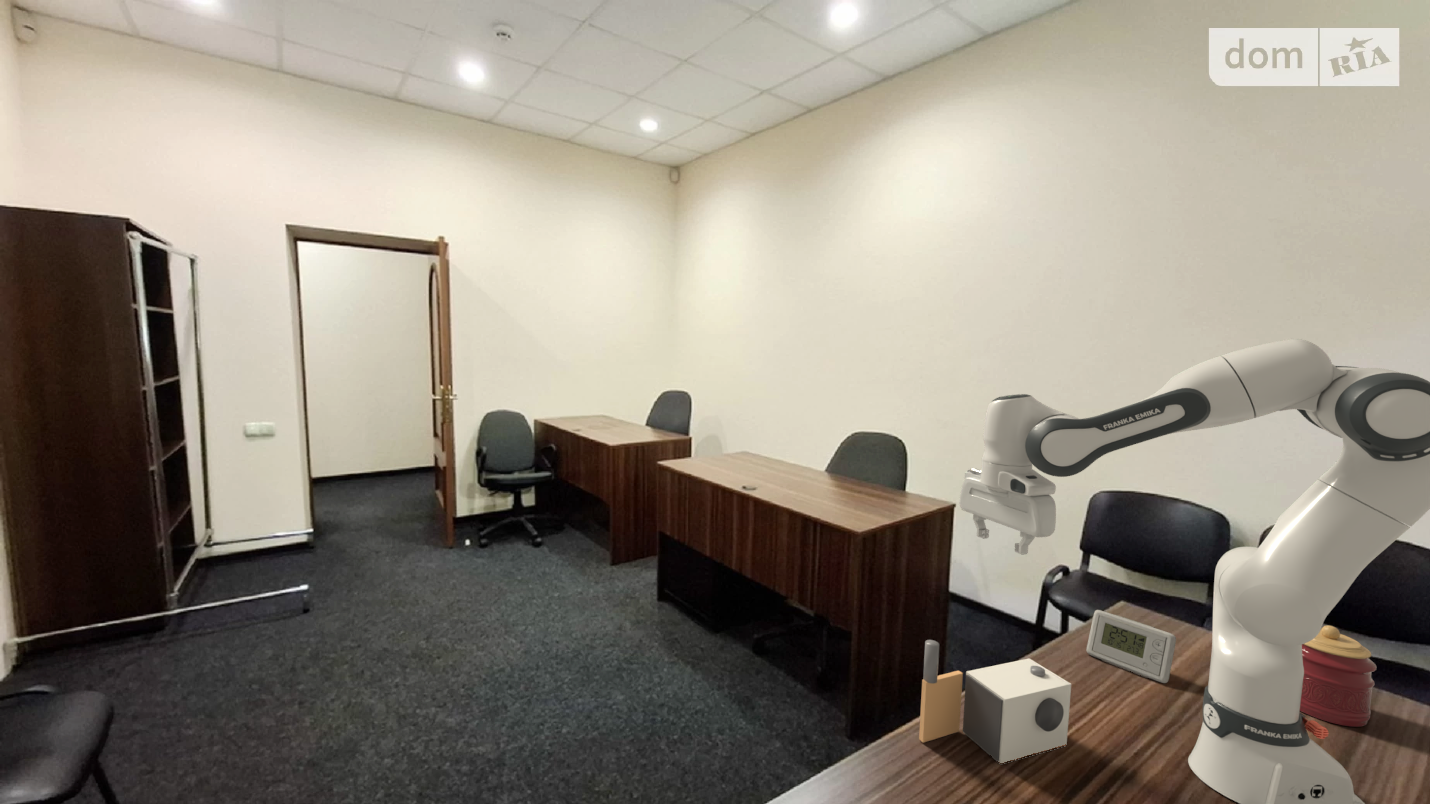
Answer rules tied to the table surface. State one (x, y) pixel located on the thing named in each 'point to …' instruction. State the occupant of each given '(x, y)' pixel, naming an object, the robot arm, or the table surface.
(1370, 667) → the canister
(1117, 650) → the digital clock
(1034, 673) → the camera case
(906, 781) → the table surface
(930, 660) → the wooden flat board
